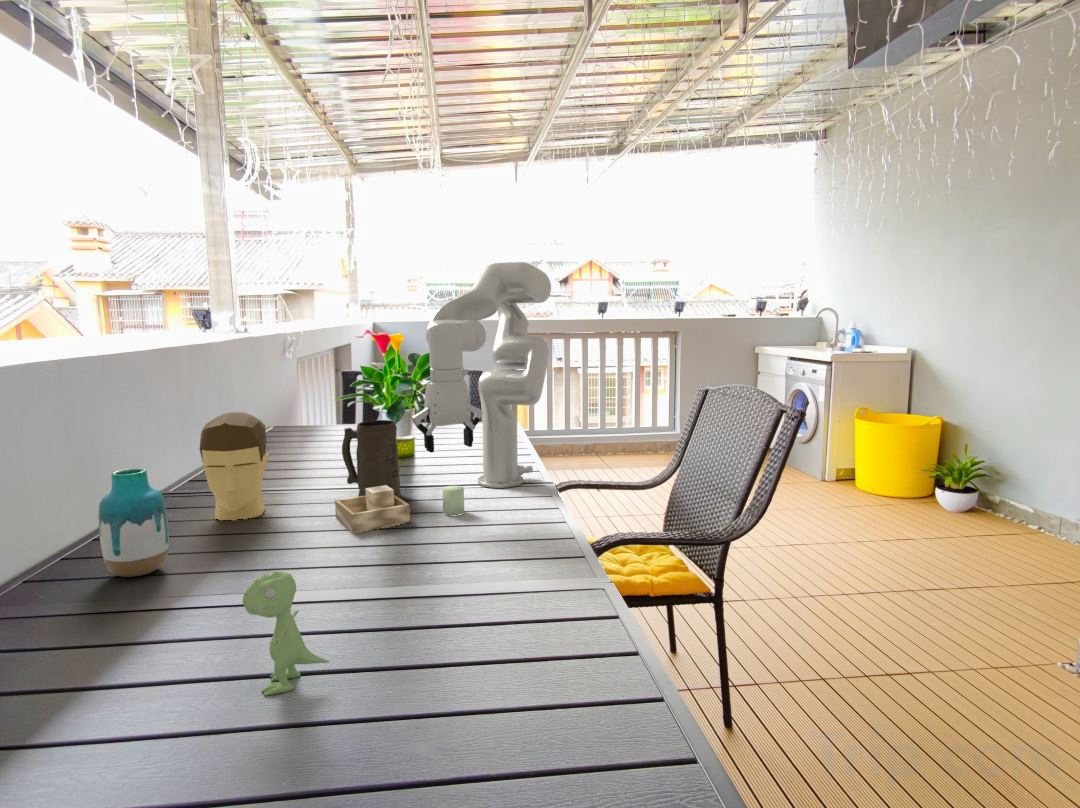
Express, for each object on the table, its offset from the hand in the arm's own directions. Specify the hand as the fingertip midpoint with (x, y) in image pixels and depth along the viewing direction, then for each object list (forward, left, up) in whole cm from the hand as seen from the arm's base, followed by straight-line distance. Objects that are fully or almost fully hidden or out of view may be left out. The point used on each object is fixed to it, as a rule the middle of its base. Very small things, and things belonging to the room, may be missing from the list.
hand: (449, 448), depth 154 cm
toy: (+49, +55, -16) cm, 75 cm away
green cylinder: (0, +1, -16) cm, 16 cm away
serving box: (+18, -4, -16) cm, 24 cm away
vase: (+64, +2, -16) cm, 65 cm away
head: (+43, -25, -16) cm, 52 cm away
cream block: (+15, -6, -15) cm, 22 cm away
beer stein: (+12, -23, -16) cm, 30 cm away
